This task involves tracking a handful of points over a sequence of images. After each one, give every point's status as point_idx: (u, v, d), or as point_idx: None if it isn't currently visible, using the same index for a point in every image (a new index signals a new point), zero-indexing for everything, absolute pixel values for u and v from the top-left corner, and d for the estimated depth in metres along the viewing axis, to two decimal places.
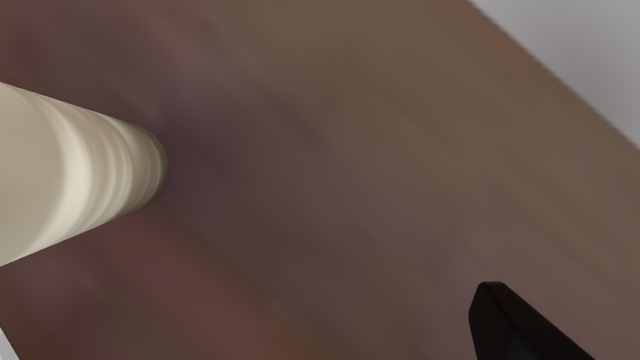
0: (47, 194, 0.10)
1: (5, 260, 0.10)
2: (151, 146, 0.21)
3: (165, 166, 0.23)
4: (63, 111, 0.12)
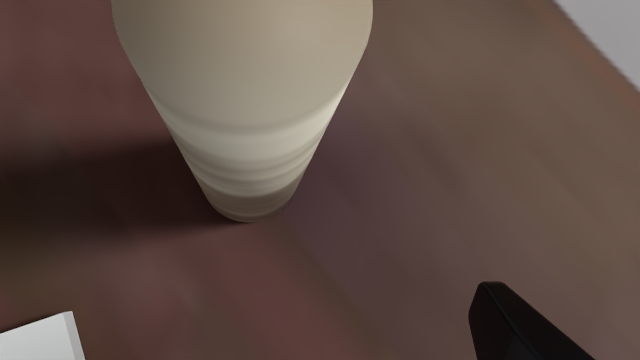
0: (365, 43, 0.08)
1: (305, 108, 0.08)
2: None
3: None
4: None
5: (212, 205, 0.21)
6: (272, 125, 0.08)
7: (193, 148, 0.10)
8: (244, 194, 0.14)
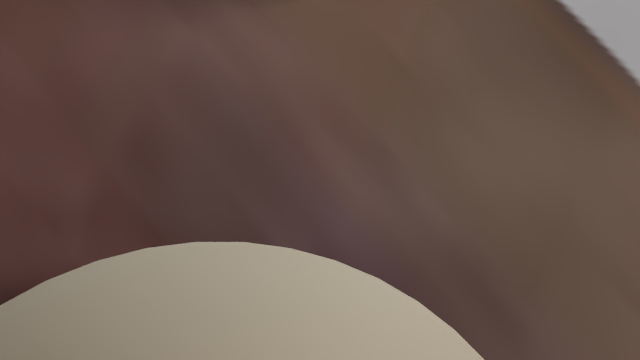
0: None
1: None
2: None
3: None
4: None
5: None
6: None
7: None
8: None
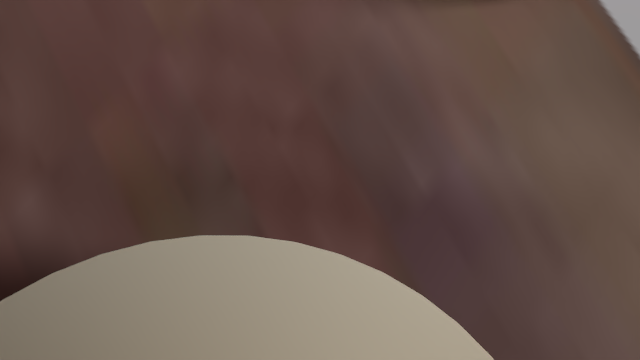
0: None
1: None
2: None
3: None
4: None
5: None
6: None
7: None
8: None
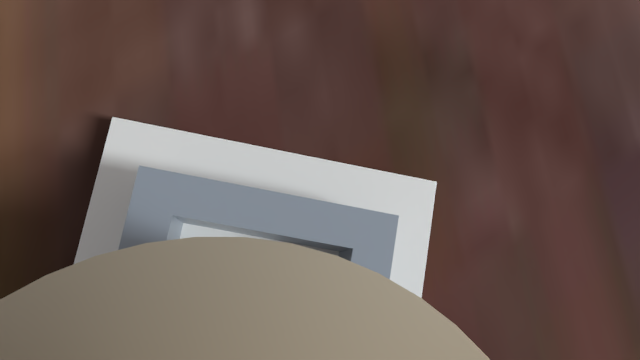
0: None
1: None
2: None
3: None
4: None
5: None
6: None
7: None
8: None
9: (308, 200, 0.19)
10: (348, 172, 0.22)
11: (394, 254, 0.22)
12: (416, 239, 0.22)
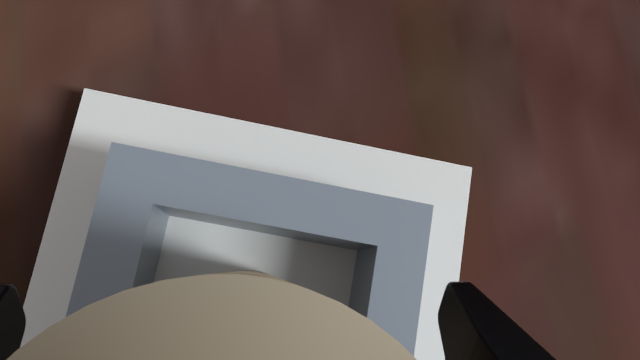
0: None
1: None
2: None
3: None
4: None
5: None
6: None
7: None
8: None
9: (322, 186, 0.15)
10: (366, 155, 0.19)
11: None
12: (448, 235, 0.19)
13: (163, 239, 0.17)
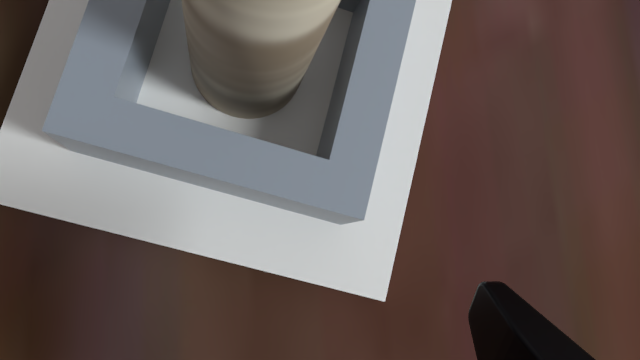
0: None
1: None
2: None
3: None
4: None
5: (203, 91, 0.18)
6: None
7: None
8: (255, 33, 0.11)
9: None
10: None
11: (411, 25, 0.20)
12: (435, 13, 0.21)
13: None
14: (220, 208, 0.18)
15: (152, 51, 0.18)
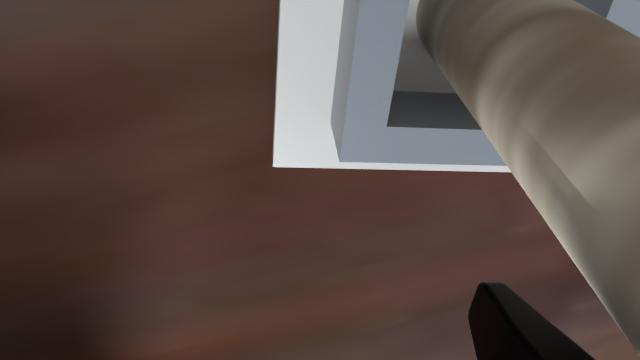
0: None
1: (637, 351, 0.08)
2: None
3: None
4: None
5: None
6: (622, 317, 0.08)
7: (574, 150, 0.09)
8: (481, 104, 0.13)
9: None
10: None
11: None
12: None
13: None
14: (327, 16, 0.19)
15: None
